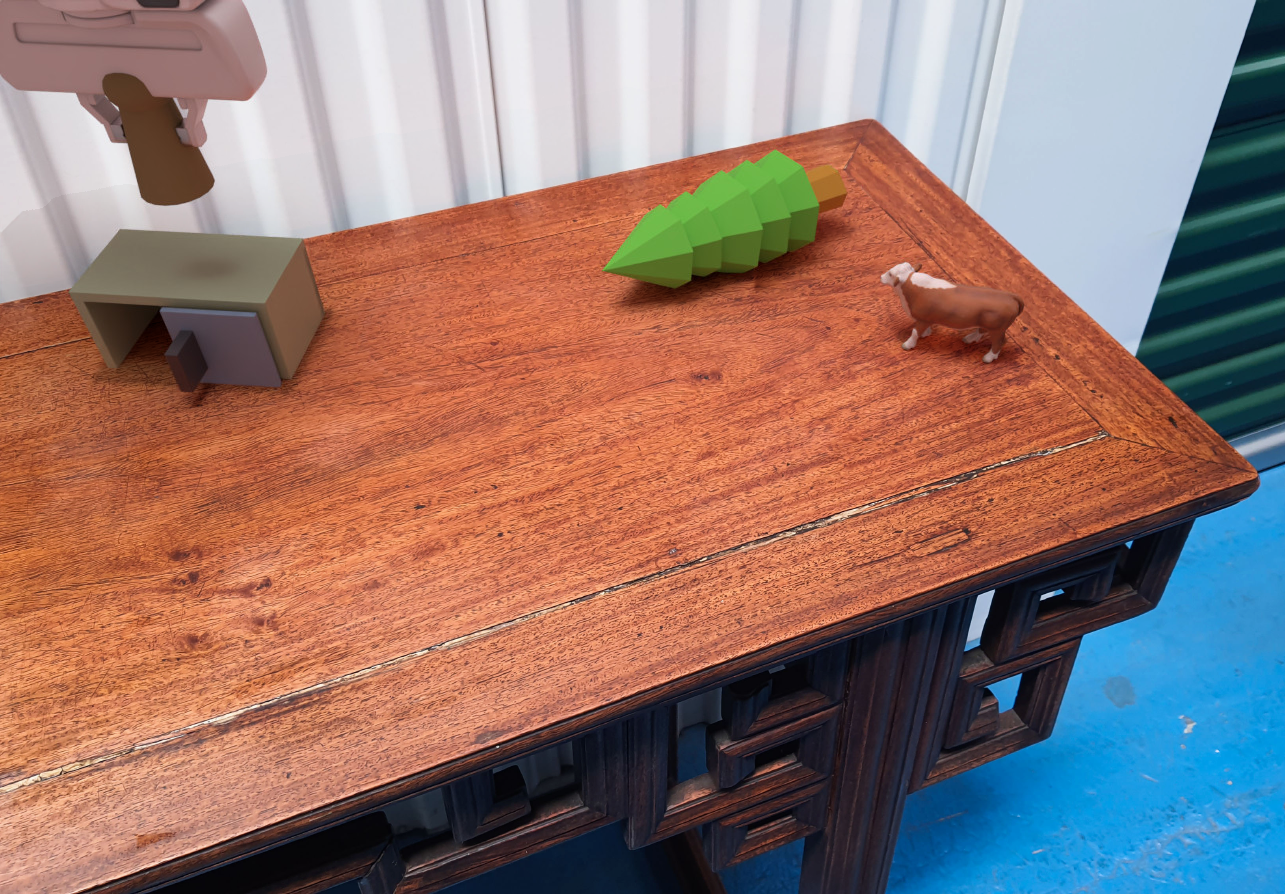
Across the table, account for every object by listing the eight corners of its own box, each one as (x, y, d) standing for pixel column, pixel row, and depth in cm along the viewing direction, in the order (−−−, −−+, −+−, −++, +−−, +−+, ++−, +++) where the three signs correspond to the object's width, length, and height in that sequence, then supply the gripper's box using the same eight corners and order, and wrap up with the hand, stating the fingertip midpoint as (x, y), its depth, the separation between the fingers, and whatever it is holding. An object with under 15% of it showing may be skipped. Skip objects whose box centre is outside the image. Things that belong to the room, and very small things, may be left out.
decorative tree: (860, 133, 102) (619, 218, 89) (871, 241, 107) (644, 337, 94) (787, 132, 111) (559, 209, 98) (800, 232, 116) (584, 317, 103)
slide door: (175, 407, 90) (141, 335, 84) (193, 378, 93) (162, 307, 87) (266, 413, 90) (239, 341, 84) (282, 383, 93) (256, 312, 87)
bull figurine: (873, 316, 101) (887, 248, 95) (1009, 345, 97) (1032, 276, 92) (864, 342, 98) (878, 274, 92) (1005, 373, 95) (1028, 304, 89)
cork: (152, 214, 81) (99, 84, 73) (130, 182, 84) (77, 55, 76) (225, 190, 83) (181, 62, 75) (201, 160, 87) (156, 35, 79)
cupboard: (104, 387, 94) (59, 302, 87) (157, 311, 102) (120, 228, 95) (288, 398, 93) (258, 313, 85) (327, 321, 101) (303, 238, 93)
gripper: (-71, -25, 70) (18, 155, 79) (211, -14, 68) (266, 168, 78) (-20, -57, 74) (58, 117, 84) (245, -47, 72) (293, 128, 82)
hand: (160, 141), depth 81 cm, fingers closed on cork, 4 cm apart
